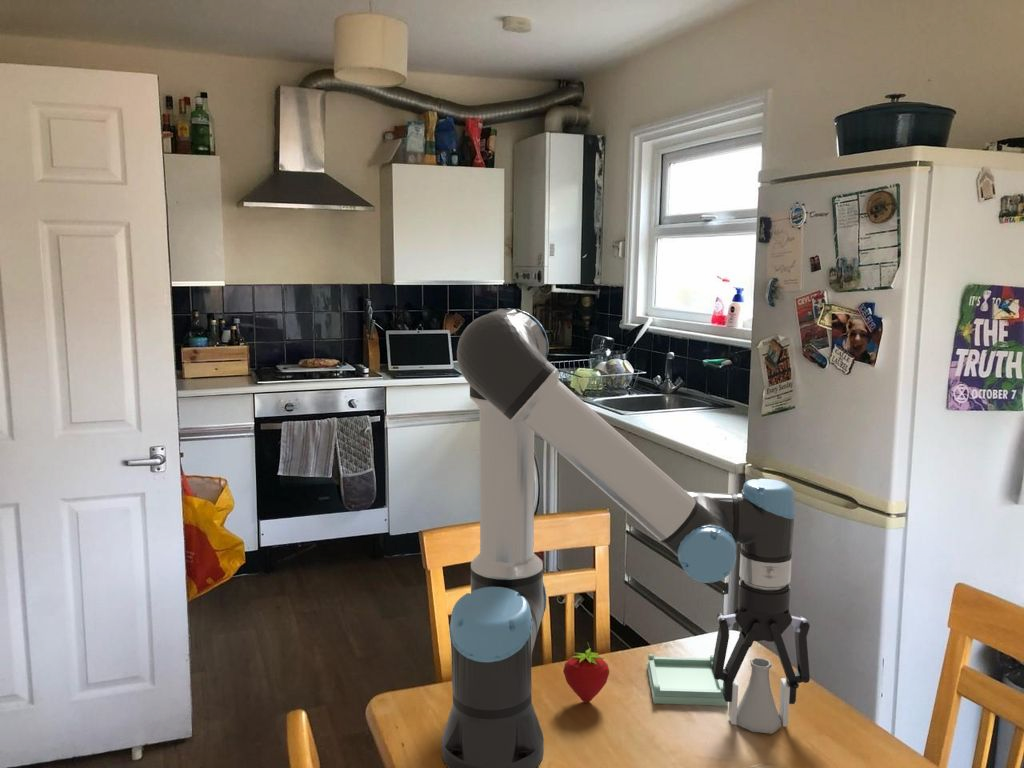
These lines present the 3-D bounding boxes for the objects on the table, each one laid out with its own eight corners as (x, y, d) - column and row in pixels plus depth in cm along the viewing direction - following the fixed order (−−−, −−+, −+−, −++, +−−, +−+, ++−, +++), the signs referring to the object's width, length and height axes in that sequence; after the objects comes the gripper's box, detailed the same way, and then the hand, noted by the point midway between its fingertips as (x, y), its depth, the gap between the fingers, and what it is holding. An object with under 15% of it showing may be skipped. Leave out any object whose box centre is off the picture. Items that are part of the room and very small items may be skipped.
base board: (653, 703, 136) (653, 688, 135) (647, 667, 148) (647, 653, 147) (727, 705, 135) (728, 690, 134) (715, 669, 147) (715, 655, 146)
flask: (729, 727, 128) (731, 667, 127) (739, 705, 134) (742, 647, 133) (777, 739, 125) (780, 678, 123) (785, 716, 131) (789, 657, 130)
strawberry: (562, 691, 140) (562, 636, 138) (607, 692, 139) (608, 636, 138) (563, 710, 134) (563, 652, 132) (610, 711, 133) (610, 653, 132)
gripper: (701, 589, 123) (696, 731, 127) (839, 593, 122) (830, 736, 125) (694, 570, 130) (689, 705, 134) (824, 573, 129) (816, 710, 133)
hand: (757, 720), depth 130 cm, fingers closed on flask, 7 cm apart
